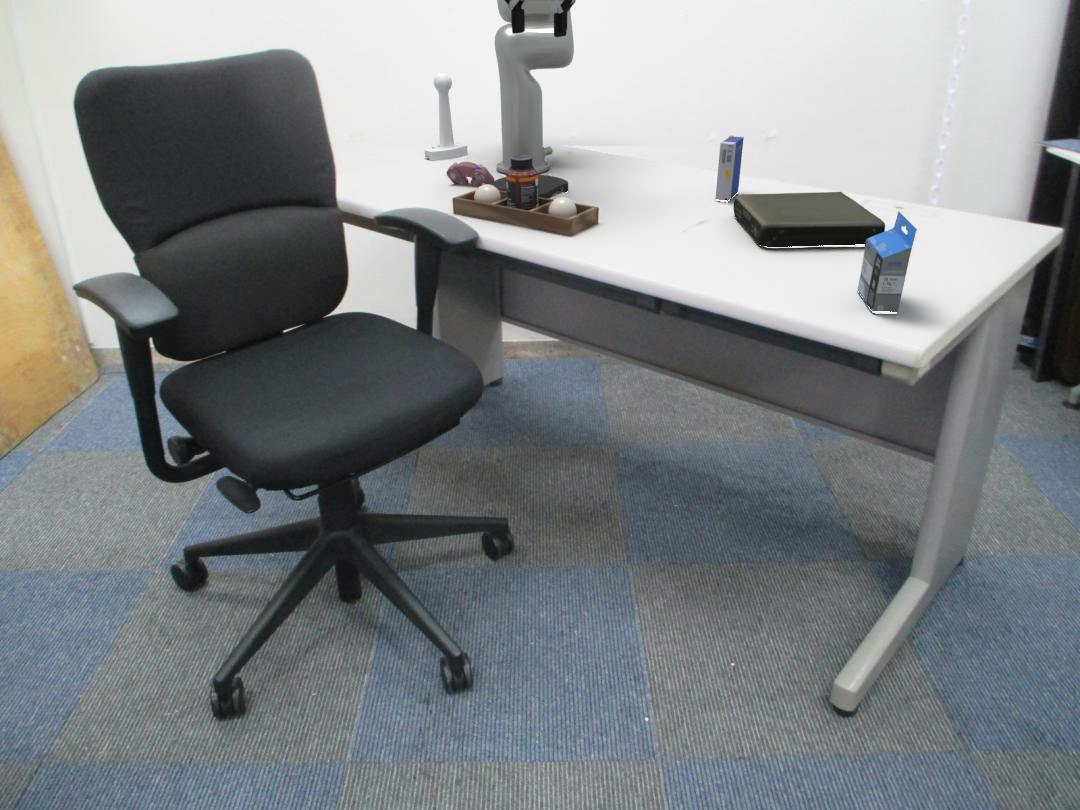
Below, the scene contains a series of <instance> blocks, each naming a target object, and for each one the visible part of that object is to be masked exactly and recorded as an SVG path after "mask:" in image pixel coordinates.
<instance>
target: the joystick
mask: <svg viewBox="0 0 1080 810" xmlns="http://www.w3.org/2000/svg"><path fill="white" fill-rule="evenodd" d="M452 79H453V78H452V77H451V76H450V74H448V73H446V72H439V73H437V74H436V75H435V76H434V78H433V85H434V87H435V90H437V93H438V115H439V116H438V117H439V118H438V120H439V121H438V123H439V125H438V126H439V144H433V145H431V148H428V149H427V148H425V149H424V150H423V151H424V158H425V159H426V158H428V161H430V160H431V161H430V162H437V161H436V160H438V161H444V160H451V159H452V160H453V159H457V158H461V157H464V156H467V155H468V145H467V144H463V143H457V144H455V142H454V141H455V140H454V133H453V124H452V123H453V122H452V114H451V106H450V96H449V91H450V90H451V88H452V86H453V80H452Z"/></svg>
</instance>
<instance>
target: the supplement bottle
mask: <svg viewBox="0 0 1080 810" xmlns="http://www.w3.org/2000/svg"><path fill="white" fill-rule="evenodd" d="M532 163H533V162H532V157H531V156H527V155H518V156H513V157H511V167H510V168H509V169H508V170H507V172H506V174H505V177H506V185H507V207H512V208H517V209H523V210H528V211H529V210H531V209H534V208H536V207H539V206H538V175H539V173H538V172H537V170H536V169H535V168H533V166H532Z"/></svg>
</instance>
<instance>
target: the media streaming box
mask: <svg viewBox="0 0 1080 810" xmlns="http://www.w3.org/2000/svg"><path fill="white" fill-rule="evenodd" d="M490 185H493V186H495V187H496V188H497V189H498V190H501V191H507V185H506V176H503V177H500V178H498V179H496V180H494V182H492V183H491V184H490ZM567 191H568V192H569V182H568V180H566V179H563V178H560V177H557V176H553V175H549V174H538V197H542V198H548V199H551V198H552V197H554V196H556V195H558V194H560V193H562V194H563V193H565V192H567ZM565 194H566V193H565Z"/></svg>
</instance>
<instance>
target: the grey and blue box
mask: <svg viewBox="0 0 1080 810" xmlns="http://www.w3.org/2000/svg"><path fill="white" fill-rule="evenodd" d="M896 215H897V216H896V219H895V222H894V226H893V228H890V229H888V230H886V231H885V232H882V233H880V234H877V235H875V236H872V237H870V238H867V239H866V244H865V248H864V252H863V256H862V263H861V269H860V275H859V281H858V285H857V289H858V291H859V293H860V294H861V296H862V297H863V299H864V301H865V302H866V303H867V305H868V306H869V307H870V309H871V310H872V311H890V312H891V311H892V312H898V313H899V309H900V304H901V299H902V294H903V291H904V286H905V285H904V284H905V281H906V276H907V272H908V268H909V267H908V266H909V262H910V257H911V253H912V249H913V245H914V242H915V238H916V234H917V231H918V230H917V228H916V227H915V226H914V225H913V224H912V223H911V222H910V221H909V219H907V218H906V217H905V216H904V215H903V214H902V213H901V212H900V211H899V210H898V211H897V214H896ZM902 227H903V228H905V230H906V232H907V234H906V232H904V231H903V229H902ZM859 293H858V294H859ZM861 296H860V297H861ZM863 299H862V300H863ZM864 301H863V302H864ZM865 302H864V303H865ZM867 305H866V306H867Z"/></svg>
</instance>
